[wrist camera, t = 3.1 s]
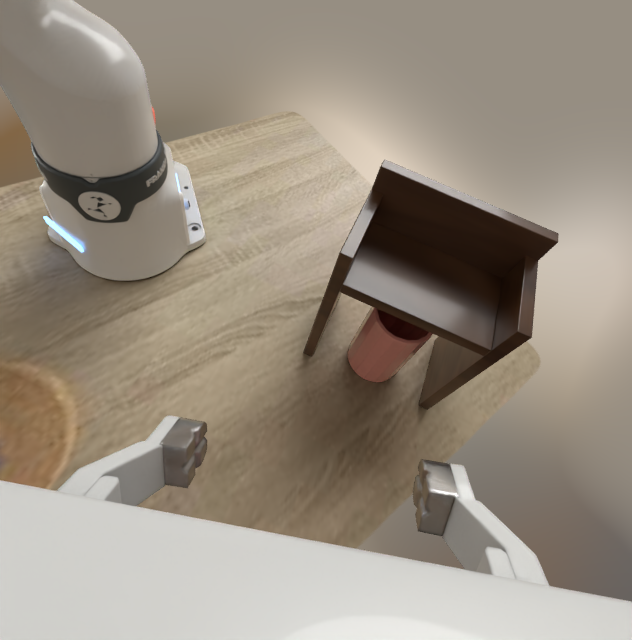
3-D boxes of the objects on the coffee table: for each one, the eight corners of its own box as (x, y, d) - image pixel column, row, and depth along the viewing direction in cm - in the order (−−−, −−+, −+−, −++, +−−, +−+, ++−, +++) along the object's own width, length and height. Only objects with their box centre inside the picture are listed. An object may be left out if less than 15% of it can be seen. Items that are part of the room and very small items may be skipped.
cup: (343, 335, 48) (368, 288, 39) (391, 333, 50) (425, 287, 41) (353, 384, 45) (382, 344, 36) (403, 380, 47) (444, 342, 38)
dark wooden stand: (427, 409, 45) (555, 321, 27) (303, 352, 46) (347, 230, 28) (443, 343, 50) (558, 233, 33) (331, 293, 51) (384, 158, 33)
